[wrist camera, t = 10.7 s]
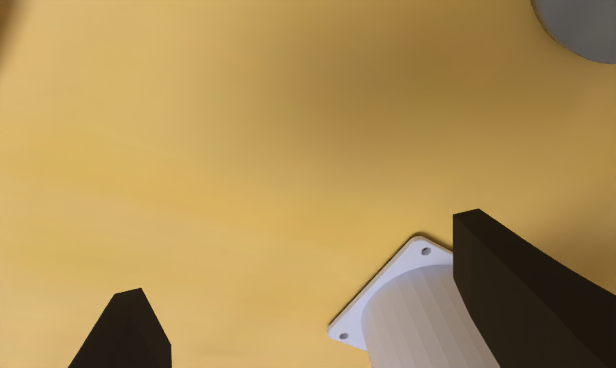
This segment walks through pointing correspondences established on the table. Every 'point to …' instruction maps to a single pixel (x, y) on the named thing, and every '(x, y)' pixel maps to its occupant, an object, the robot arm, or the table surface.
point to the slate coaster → (581, 26)
